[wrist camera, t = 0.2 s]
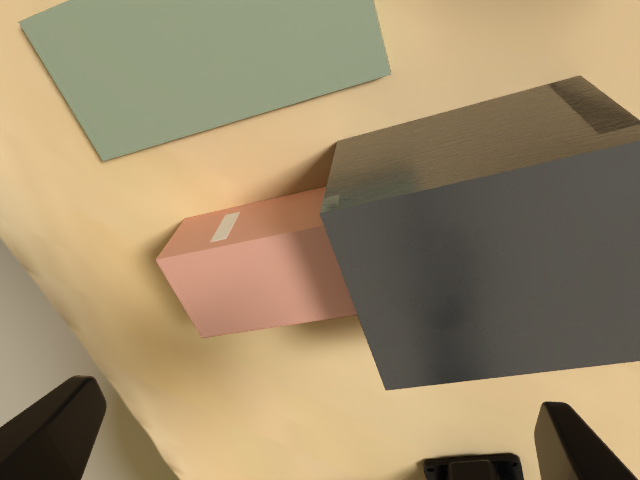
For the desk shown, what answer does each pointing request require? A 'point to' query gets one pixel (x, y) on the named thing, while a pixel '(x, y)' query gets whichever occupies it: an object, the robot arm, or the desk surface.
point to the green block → (199, 61)
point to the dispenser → (493, 237)
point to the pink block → (256, 266)
